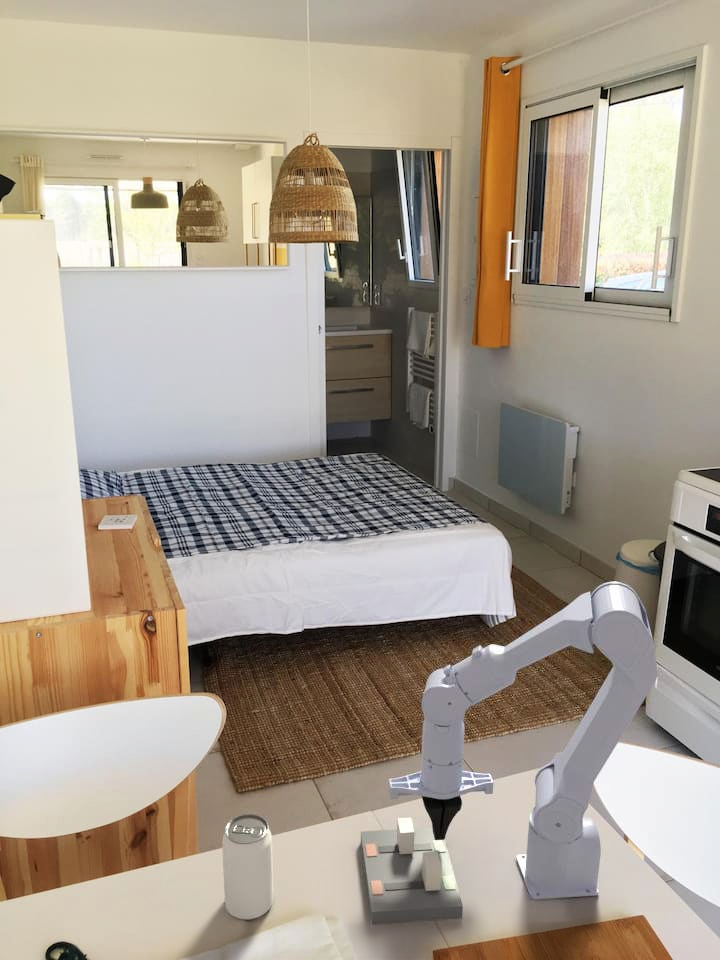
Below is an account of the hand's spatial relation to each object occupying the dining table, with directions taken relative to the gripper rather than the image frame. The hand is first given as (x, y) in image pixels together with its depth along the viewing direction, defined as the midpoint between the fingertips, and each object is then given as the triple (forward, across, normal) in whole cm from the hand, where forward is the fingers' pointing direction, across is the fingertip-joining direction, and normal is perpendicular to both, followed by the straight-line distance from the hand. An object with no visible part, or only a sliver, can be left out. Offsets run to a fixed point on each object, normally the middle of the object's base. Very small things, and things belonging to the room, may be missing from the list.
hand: (438, 835), depth 117 cm
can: (+4, +27, +6) cm, 28 cm away
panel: (+4, +5, +4) cm, 7 cm away
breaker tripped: (+1, +5, 0) cm, 5 cm away
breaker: (+1, +2, +7) cm, 8 cm away
